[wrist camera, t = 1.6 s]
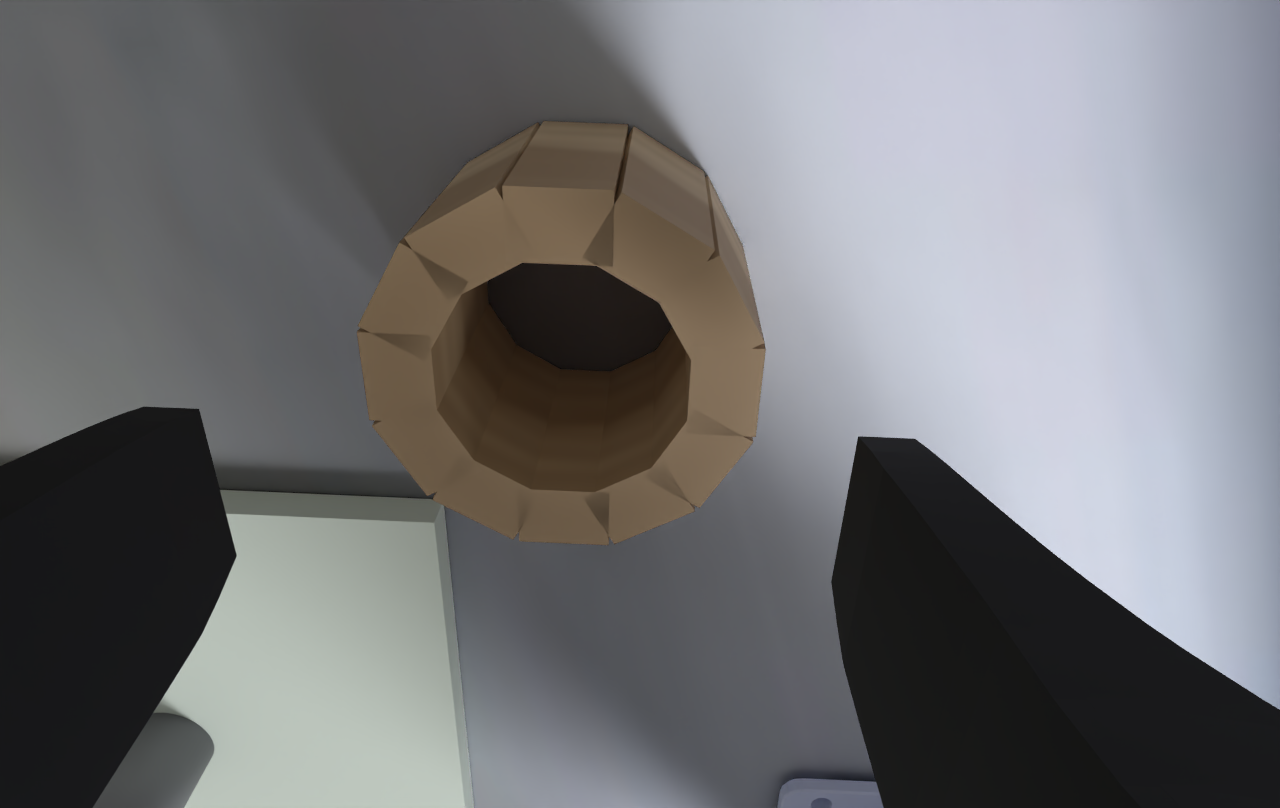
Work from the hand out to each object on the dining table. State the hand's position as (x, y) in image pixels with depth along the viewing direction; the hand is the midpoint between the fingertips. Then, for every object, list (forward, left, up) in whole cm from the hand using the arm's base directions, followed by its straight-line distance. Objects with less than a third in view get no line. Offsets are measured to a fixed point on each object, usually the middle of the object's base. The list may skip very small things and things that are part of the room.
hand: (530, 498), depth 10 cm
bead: (0, 0, -7) cm, 7 cm away
